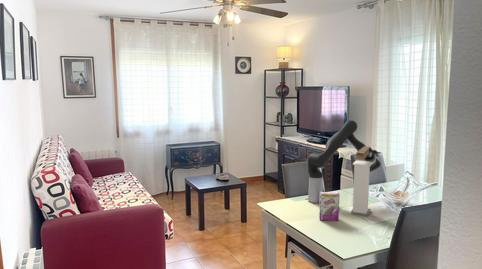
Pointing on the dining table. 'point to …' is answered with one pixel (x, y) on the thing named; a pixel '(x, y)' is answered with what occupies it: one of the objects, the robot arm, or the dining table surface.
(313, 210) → the dining table surface
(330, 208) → the candy bar box
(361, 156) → the walnut bar
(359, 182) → the shelf post
